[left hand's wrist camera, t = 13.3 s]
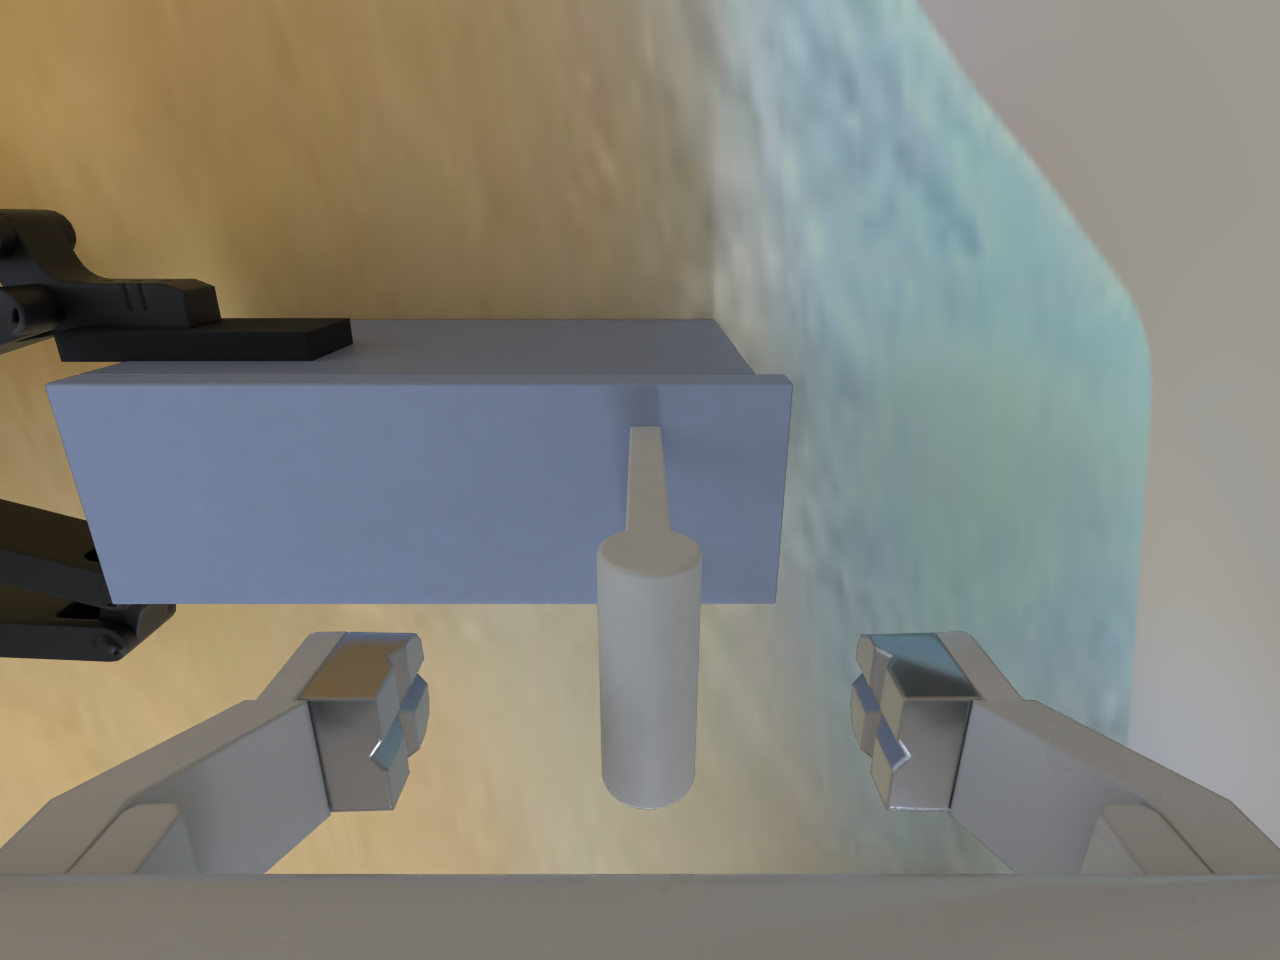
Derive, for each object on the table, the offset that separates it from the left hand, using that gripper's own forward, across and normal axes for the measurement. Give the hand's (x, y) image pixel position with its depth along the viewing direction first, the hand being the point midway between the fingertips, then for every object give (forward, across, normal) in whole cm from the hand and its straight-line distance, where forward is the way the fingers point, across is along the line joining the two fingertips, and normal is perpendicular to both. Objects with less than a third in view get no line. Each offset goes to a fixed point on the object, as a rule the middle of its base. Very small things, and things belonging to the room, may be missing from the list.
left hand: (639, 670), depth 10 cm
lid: (+7, +5, 0) cm, 9 cm away
